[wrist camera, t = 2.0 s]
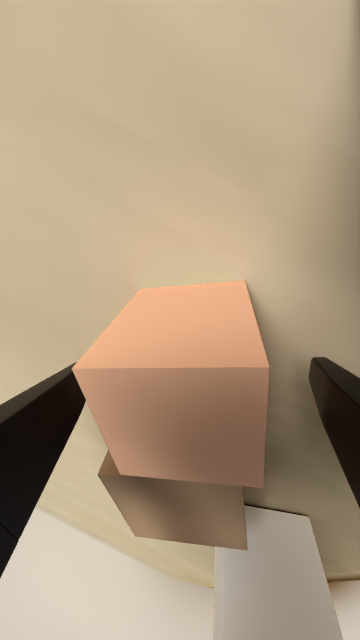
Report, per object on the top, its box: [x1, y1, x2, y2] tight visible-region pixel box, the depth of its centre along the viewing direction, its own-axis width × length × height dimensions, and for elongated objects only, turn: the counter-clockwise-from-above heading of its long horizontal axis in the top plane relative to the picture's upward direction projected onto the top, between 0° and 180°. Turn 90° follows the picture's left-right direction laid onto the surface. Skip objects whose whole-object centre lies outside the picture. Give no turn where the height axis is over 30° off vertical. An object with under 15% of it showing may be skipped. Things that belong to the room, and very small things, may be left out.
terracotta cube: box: [72, 280, 270, 488], centre depth 9 cm, size 5×5×6 cm
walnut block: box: [98, 450, 248, 551], centre depth 16 cm, size 8×8×4 cm
